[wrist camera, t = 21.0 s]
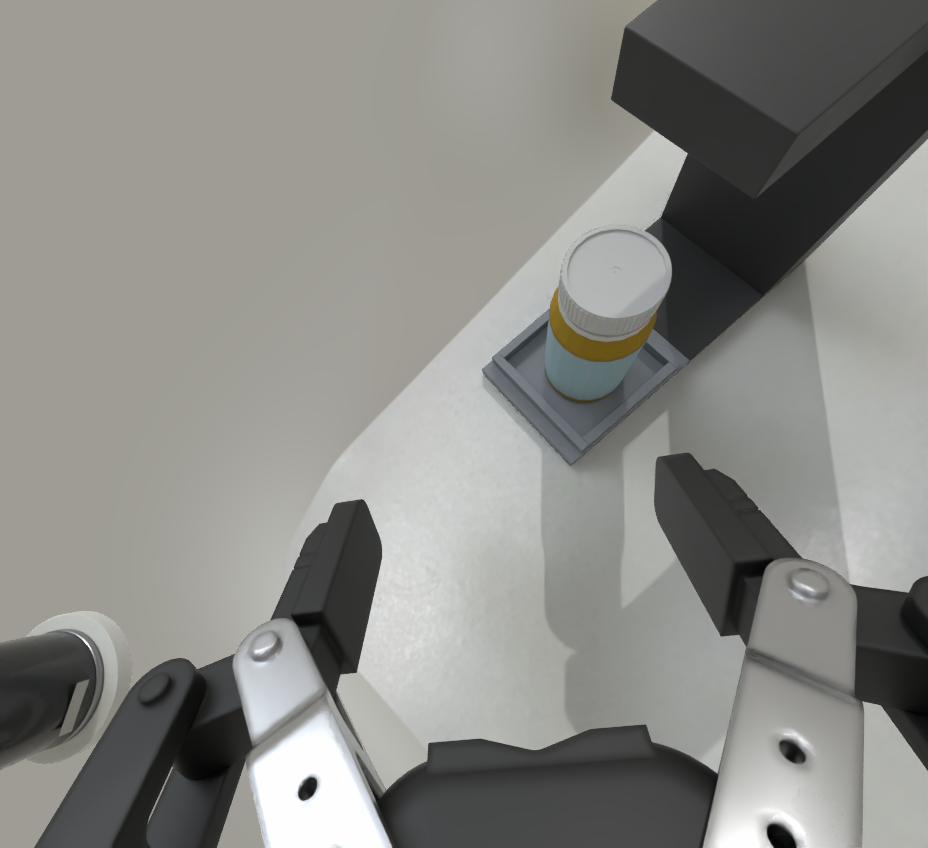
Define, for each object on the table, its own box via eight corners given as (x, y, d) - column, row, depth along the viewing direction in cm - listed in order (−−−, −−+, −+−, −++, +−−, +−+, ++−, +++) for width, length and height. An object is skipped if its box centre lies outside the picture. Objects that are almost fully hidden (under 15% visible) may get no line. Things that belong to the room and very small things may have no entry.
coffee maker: (570, 466, 38) (647, 344, 13) (482, 373, 41) (417, 140, 17) (805, 259, 39) (1256, -186, 15) (701, 186, 43) (933, -276, 18)
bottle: (542, 402, 39) (551, 325, 24) (545, 331, 40) (555, 219, 26) (623, 405, 38) (683, 326, 23) (622, 332, 39) (678, 216, 25)
